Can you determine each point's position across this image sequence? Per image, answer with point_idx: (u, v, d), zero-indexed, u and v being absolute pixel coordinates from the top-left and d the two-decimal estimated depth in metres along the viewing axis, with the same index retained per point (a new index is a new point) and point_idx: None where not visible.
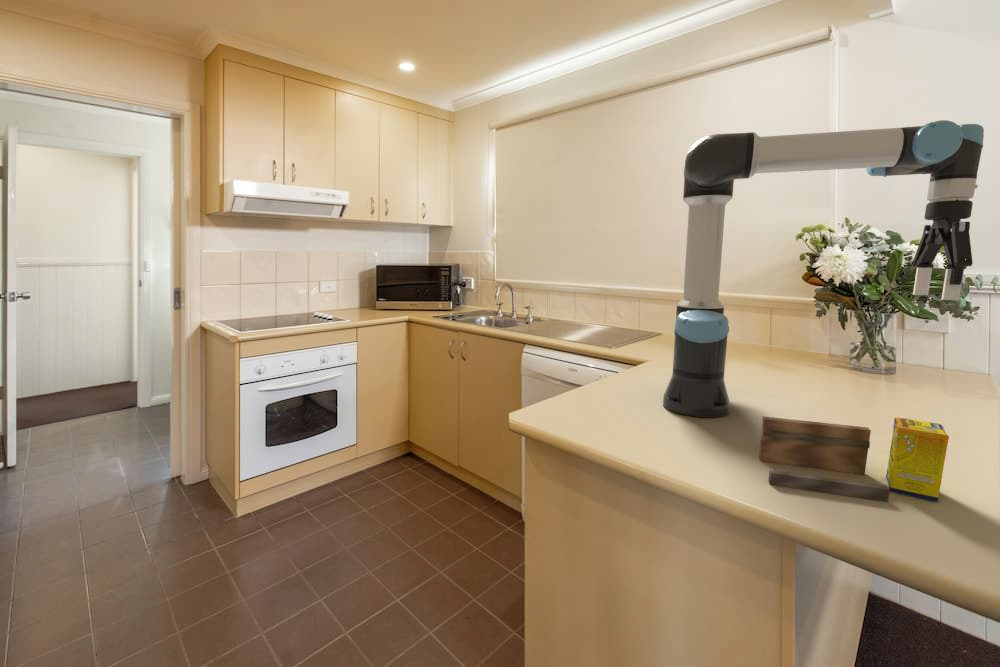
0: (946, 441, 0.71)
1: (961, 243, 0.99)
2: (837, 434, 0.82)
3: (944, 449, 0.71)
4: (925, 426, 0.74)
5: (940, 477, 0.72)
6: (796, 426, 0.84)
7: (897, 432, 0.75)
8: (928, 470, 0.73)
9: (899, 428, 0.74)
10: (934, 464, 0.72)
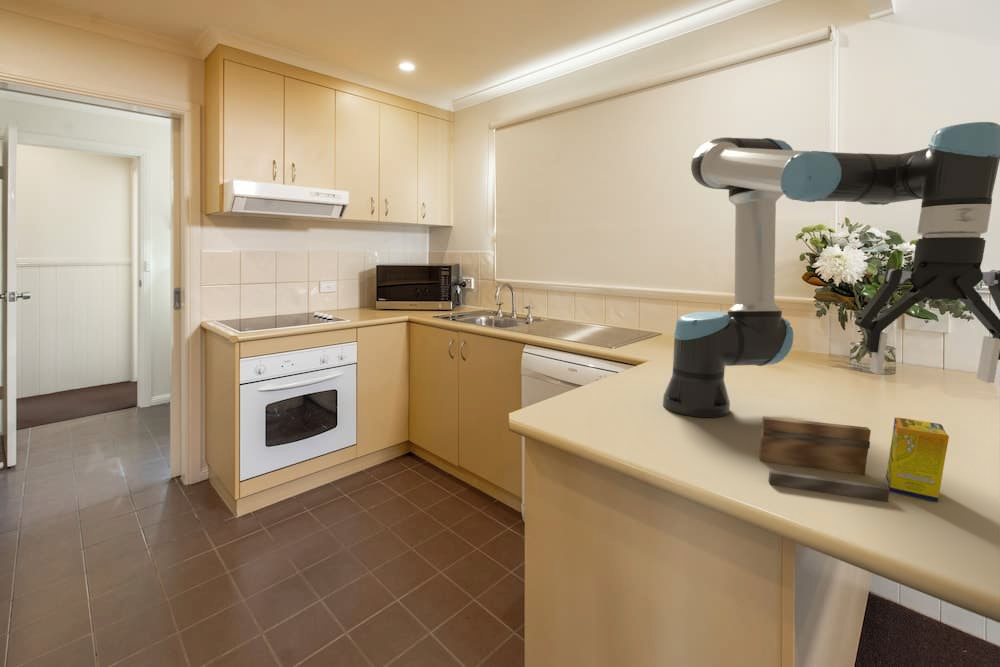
0: (946, 441, 0.71)
1: (874, 297, 0.75)
2: (837, 434, 0.82)
3: (944, 449, 0.71)
4: (925, 426, 0.74)
5: (940, 477, 0.72)
6: (796, 426, 0.84)
7: (897, 432, 0.75)
8: (928, 470, 0.73)
9: (899, 428, 0.74)
10: (934, 464, 0.72)
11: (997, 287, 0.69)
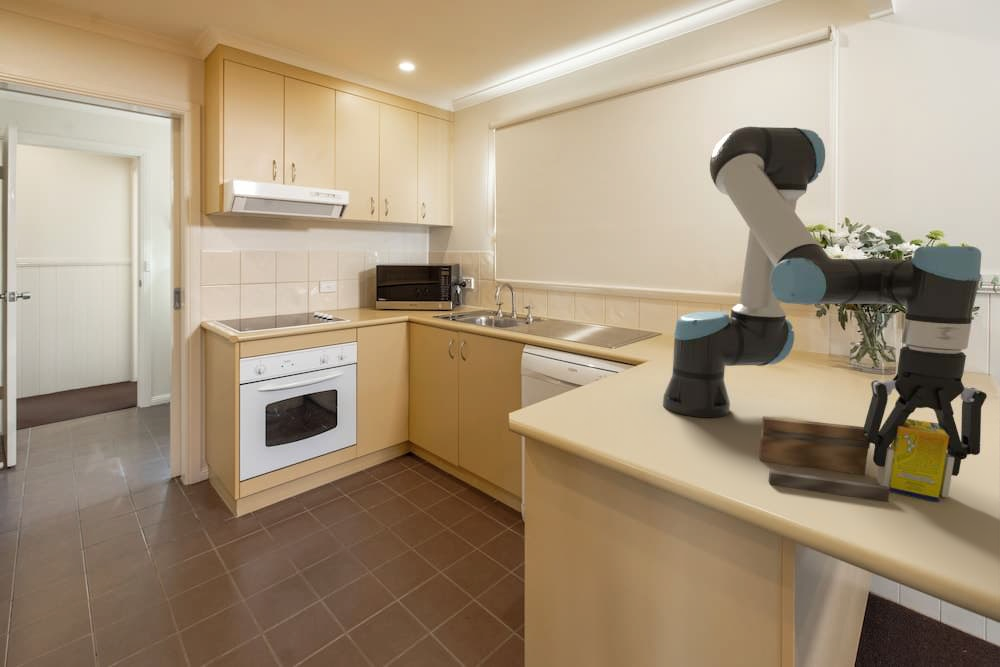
0: (946, 441, 0.71)
1: (870, 411, 0.77)
2: (837, 434, 0.82)
3: (944, 449, 0.71)
4: (925, 426, 0.74)
5: (940, 477, 0.72)
6: (796, 426, 0.84)
7: (897, 432, 0.75)
8: (928, 470, 0.73)
9: (899, 428, 0.74)
10: (934, 464, 0.72)
11: (970, 405, 0.72)
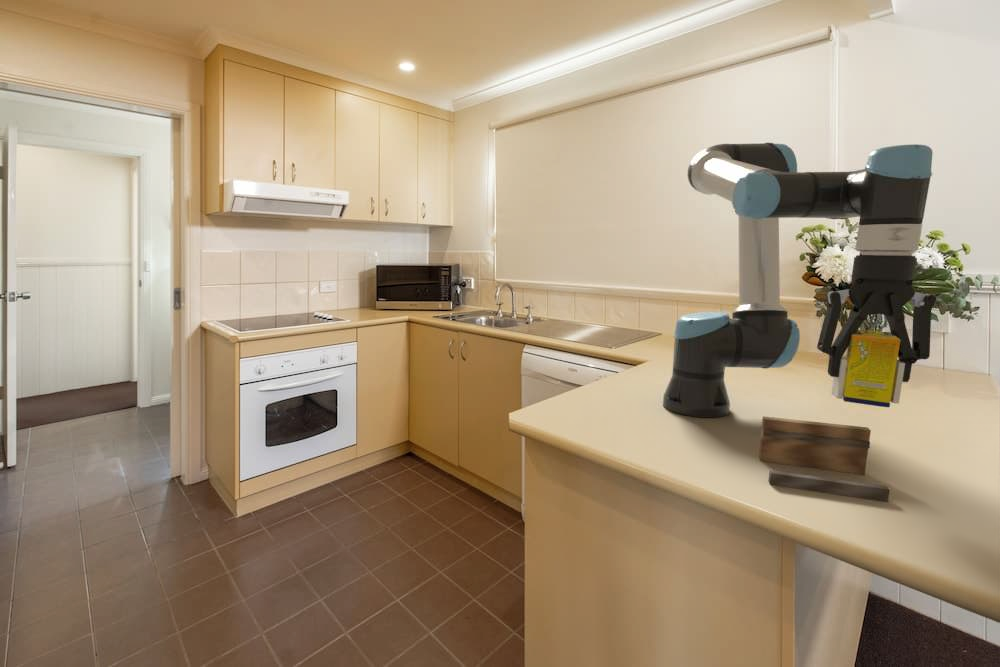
0: (898, 345, 0.71)
1: (825, 322, 0.77)
2: (837, 434, 0.82)
3: (896, 353, 0.71)
4: (878, 333, 0.74)
5: (892, 382, 0.72)
6: (796, 426, 0.84)
7: (851, 340, 0.74)
8: (880, 376, 0.73)
9: (853, 335, 0.74)
10: (886, 369, 0.72)
11: (920, 309, 0.72)
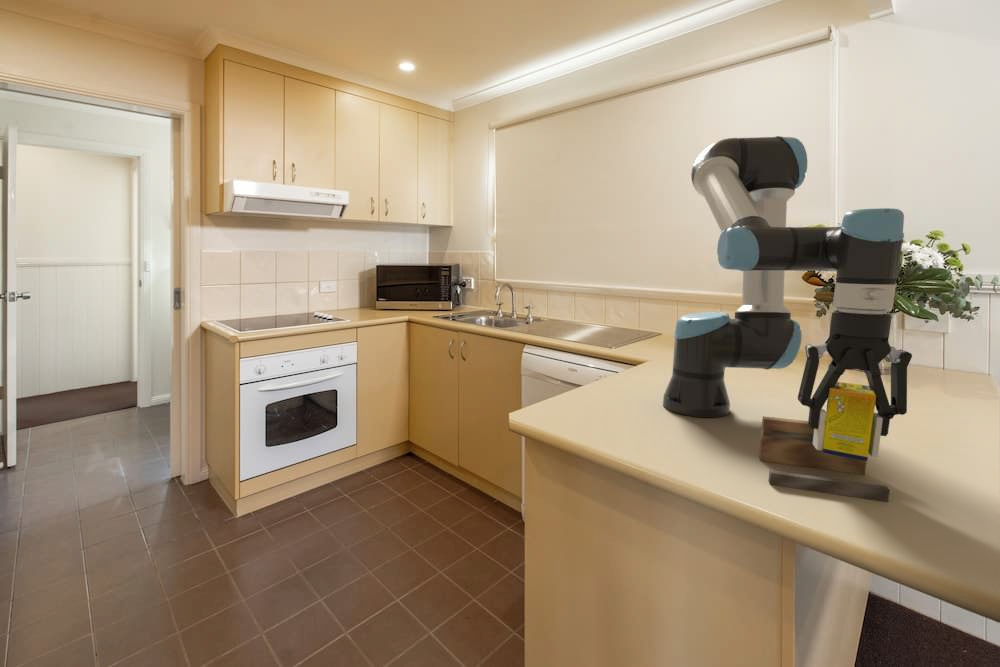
0: (874, 400, 0.73)
1: (804, 374, 0.79)
2: None
3: (872, 408, 0.73)
4: (856, 387, 0.76)
5: (869, 436, 0.74)
6: (796, 426, 0.84)
7: (829, 394, 0.76)
8: (858, 430, 0.74)
9: (830, 389, 0.76)
10: (863, 424, 0.74)
11: (897, 365, 0.73)
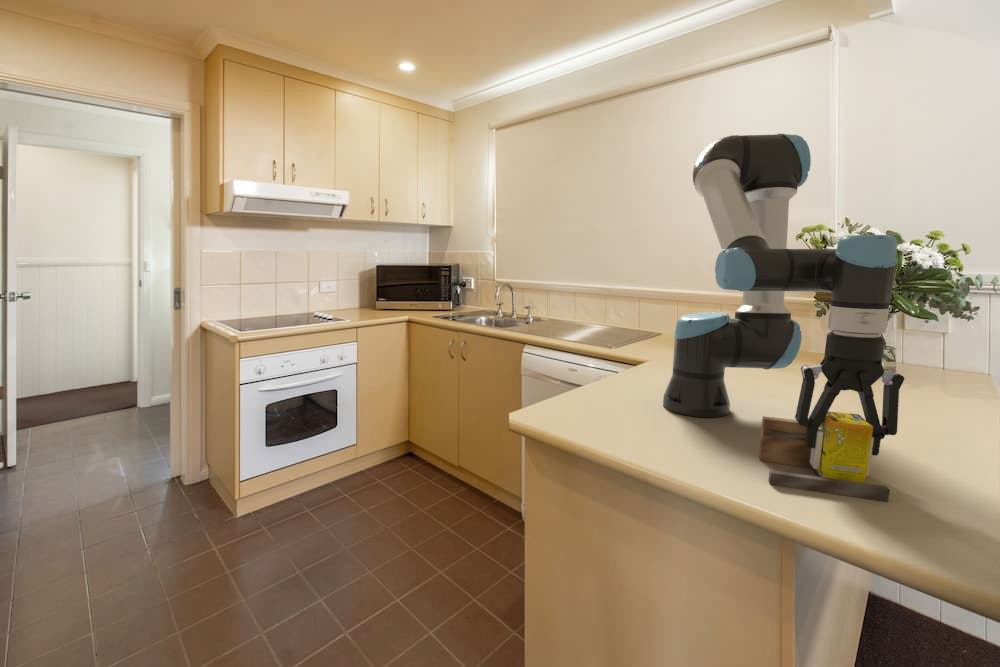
0: (871, 431, 0.75)
1: (801, 395, 0.80)
2: None
3: (869, 439, 0.75)
4: (849, 418, 0.78)
5: (866, 466, 0.76)
6: (796, 426, 0.84)
7: (828, 426, 0.77)
8: (856, 460, 0.76)
9: (830, 422, 0.77)
10: (861, 454, 0.76)
11: (889, 387, 0.75)
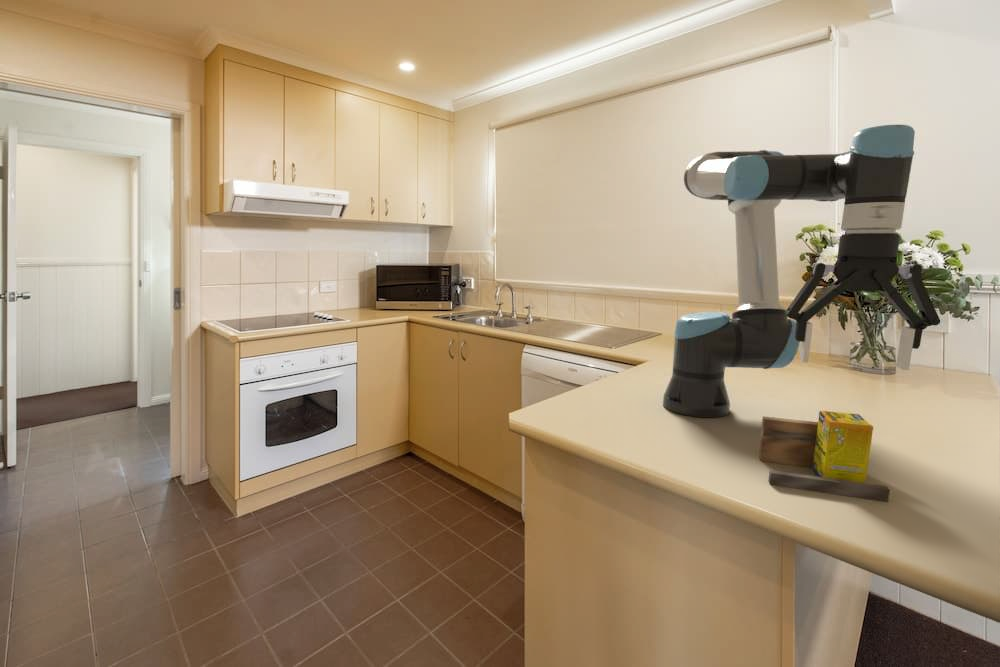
0: (871, 431, 0.75)
1: (802, 290, 0.79)
2: None
3: (869, 439, 0.75)
4: (849, 418, 0.78)
5: (866, 466, 0.76)
6: (796, 426, 0.84)
7: (828, 426, 0.77)
8: (856, 460, 0.76)
9: (830, 422, 0.77)
10: (861, 454, 0.76)
11: (911, 280, 0.73)
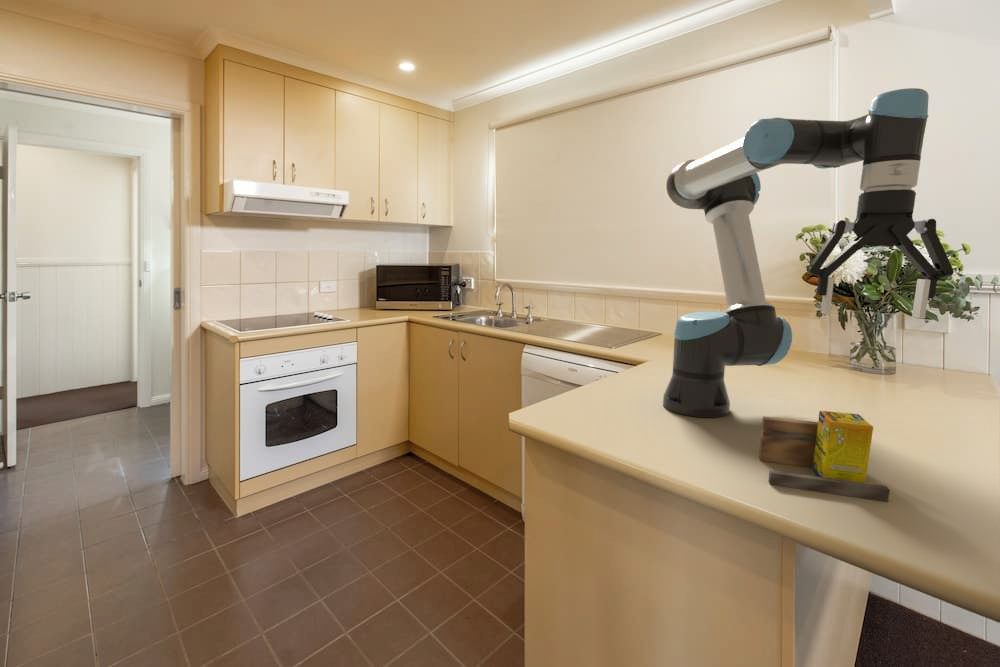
0: (871, 431, 0.75)
1: (823, 247, 0.85)
2: None
3: (869, 439, 0.75)
4: (849, 418, 0.78)
5: (866, 466, 0.76)
6: (796, 426, 0.84)
7: (828, 426, 0.77)
8: (856, 460, 0.76)
9: (830, 422, 0.77)
10: (861, 454, 0.76)
11: (926, 234, 0.79)
